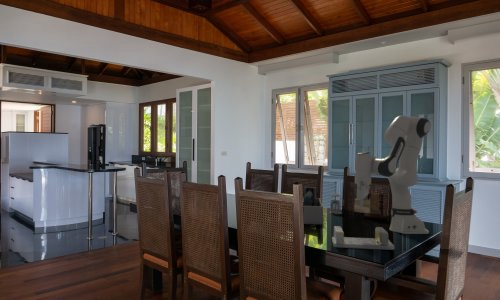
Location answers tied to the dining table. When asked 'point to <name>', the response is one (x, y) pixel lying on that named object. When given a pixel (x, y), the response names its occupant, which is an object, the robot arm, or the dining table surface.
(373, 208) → the scroll
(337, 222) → the dining table surface
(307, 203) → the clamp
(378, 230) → the block
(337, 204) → the french press
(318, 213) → the tool tote
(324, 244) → the dining table surface
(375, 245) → the vise base
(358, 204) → the maple block
